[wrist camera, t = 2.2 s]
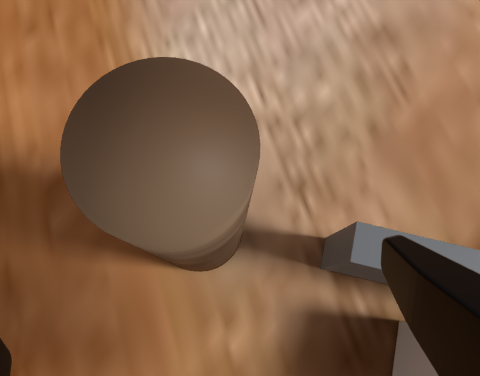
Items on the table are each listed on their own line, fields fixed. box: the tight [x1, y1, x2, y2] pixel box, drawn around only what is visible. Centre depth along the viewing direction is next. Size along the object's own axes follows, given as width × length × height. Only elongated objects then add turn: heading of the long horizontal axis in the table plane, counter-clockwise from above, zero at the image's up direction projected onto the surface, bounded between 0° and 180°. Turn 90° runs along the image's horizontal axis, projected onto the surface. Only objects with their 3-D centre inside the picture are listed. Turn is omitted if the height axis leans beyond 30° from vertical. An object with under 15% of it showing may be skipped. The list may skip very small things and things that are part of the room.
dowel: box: [60, 57, 260, 271], centre depth 14 cm, size 4×4×12 cm
